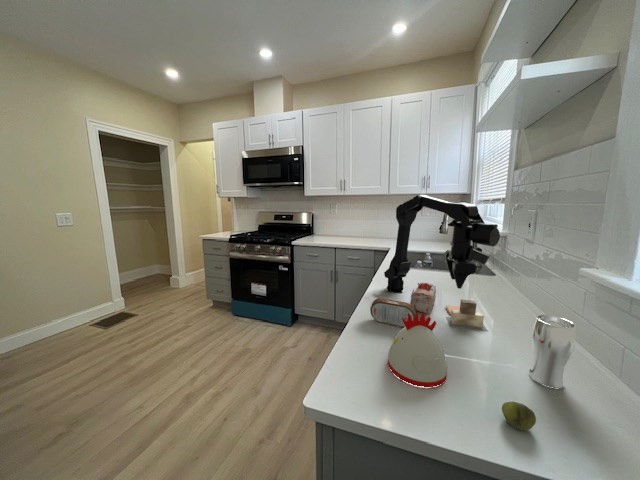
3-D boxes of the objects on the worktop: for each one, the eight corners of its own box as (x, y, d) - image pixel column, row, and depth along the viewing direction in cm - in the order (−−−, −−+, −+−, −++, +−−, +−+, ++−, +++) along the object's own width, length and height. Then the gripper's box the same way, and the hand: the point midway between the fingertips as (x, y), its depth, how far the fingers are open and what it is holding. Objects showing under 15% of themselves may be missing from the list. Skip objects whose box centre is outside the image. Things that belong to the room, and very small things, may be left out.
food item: (431, 317, 89) (433, 291, 88) (408, 312, 93) (410, 287, 92) (435, 303, 101) (437, 280, 99) (415, 299, 105) (416, 277, 103)
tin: (415, 326, 83) (417, 303, 81) (415, 331, 80) (416, 307, 78) (371, 317, 89) (371, 295, 88) (368, 321, 86) (369, 298, 85)
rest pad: (449, 327, 82) (450, 326, 82) (445, 317, 89) (445, 316, 89) (488, 332, 79) (488, 331, 79) (480, 322, 86) (480, 320, 86)
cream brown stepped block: (452, 323, 84) (454, 301, 82) (450, 320, 86) (452, 298, 85) (482, 327, 81) (485, 304, 80) (479, 323, 84) (482, 301, 82)
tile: (445, 310, 96) (449, 317, 90) (445, 305, 96) (450, 312, 90) (468, 312, 94) (474, 319, 88) (468, 307, 94) (474, 314, 88)
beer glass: (557, 395, 54) (569, 332, 51) (520, 375, 60) (529, 317, 58) (571, 384, 57) (583, 324, 55) (534, 366, 63) (543, 311, 61)
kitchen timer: (382, 350, 70) (385, 300, 67) (432, 351, 70) (436, 301, 67) (396, 388, 56) (399, 327, 54) (457, 389, 56) (464, 328, 53)
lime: (496, 416, 49) (499, 394, 48) (519, 415, 49) (523, 393, 48) (515, 438, 45) (518, 414, 44) (540, 436, 45) (544, 412, 44)
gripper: (499, 248, 74) (491, 297, 77) (479, 237, 92) (473, 277, 95) (458, 245, 77) (452, 292, 80) (446, 235, 95) (441, 274, 98)
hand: (456, 283), depth 88 cm, fingers open, 9 cm apart
